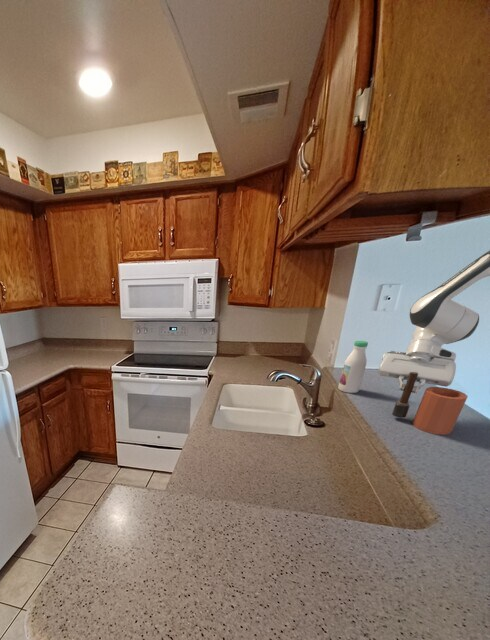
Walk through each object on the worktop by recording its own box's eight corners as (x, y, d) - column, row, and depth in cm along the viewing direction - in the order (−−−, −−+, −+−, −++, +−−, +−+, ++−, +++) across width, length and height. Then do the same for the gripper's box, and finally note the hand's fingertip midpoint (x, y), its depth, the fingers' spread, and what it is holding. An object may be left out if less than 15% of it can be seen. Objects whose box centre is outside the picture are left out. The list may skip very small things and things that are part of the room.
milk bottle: (359, 389, 137) (373, 341, 128) (357, 394, 132) (371, 344, 122) (339, 385, 141) (352, 338, 132) (336, 390, 136) (349, 342, 126)
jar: (444, 423, 109) (460, 389, 103) (456, 436, 101) (473, 400, 95) (409, 418, 112) (422, 385, 107) (417, 431, 104) (431, 396, 98)
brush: (404, 413, 113) (419, 371, 105) (407, 418, 109) (423, 375, 102) (390, 412, 114) (405, 370, 107) (393, 416, 111) (408, 373, 103)
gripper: (386, 345, 112) (372, 379, 110) (462, 354, 101) (448, 393, 99) (384, 355, 117) (371, 388, 115) (457, 365, 106) (443, 402, 104)
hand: (407, 390), depth 107 cm, fingers closed on brush, 2 cm apart
